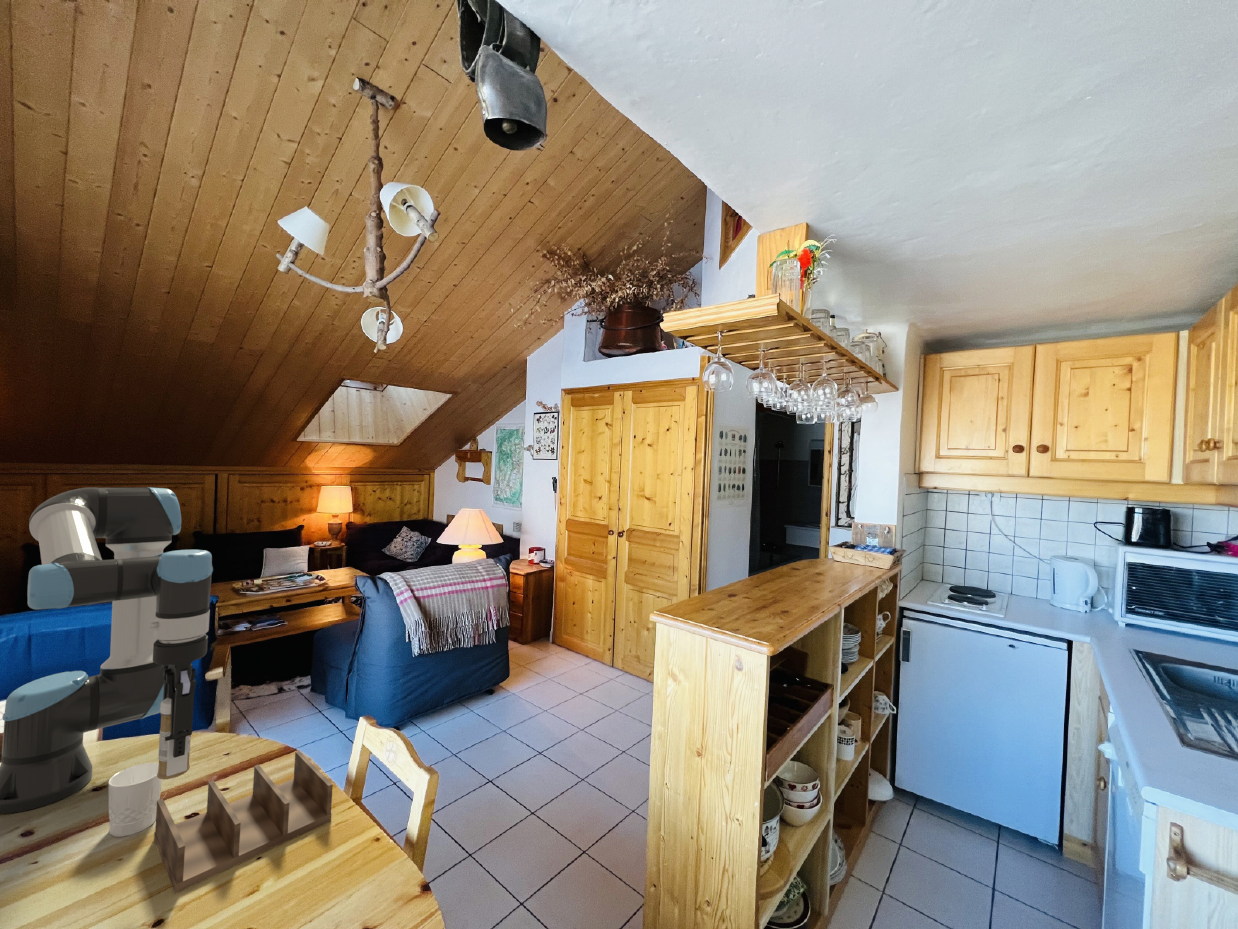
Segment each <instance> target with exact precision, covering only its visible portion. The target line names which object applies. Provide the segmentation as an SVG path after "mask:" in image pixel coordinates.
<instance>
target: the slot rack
mask: <svg viewBox="0 0 1238 929" xmlns="http://www.w3.org/2000/svg"><path fill="white" fill-rule="evenodd" d="M253 767H254V768H253V783H252V794H251V795H247V796H245V797H242V798H240V799H237V800H234V801H232V802H228V800H227V799H226V798H225V796H224V794H223V793H222V791H221V790H220V788H219V787H218V785H217V784H216V782H215V781H214V780H211V781H208V783H207V784H208V786H207V800H206V801H207V802H206V803H207V804H206V811H205V812H203V813H201V814H198V815H196V816H194V817H191V818H188V819H185V820H183V821H180V822H177V823H175V822H174V820H173V817H172V815H171V813H170V811H169V808H168V807H167V804H166V803H165V801H164V799H163V798H160V799H159V800H157V810H156V821H155V830H154V834H153V835H154V836H153V841H154V844H155V847H156V849H157V851H158V854H159V856H160V859H161V862H162V864H163V866H164V869H165V872H166V873H167V876H168V879H169V881H170V884H171V886H172V888H173V892H174V894H175V895H177V894H178V893H180V892H182V891H185V890H186V889H188V888H190V887H193V886H195V885H197V884H199V883H202V882H203V881H206V880H208V879H210V878H212V877H214V876H216V875H219V874H221V873H223V872H225V871H227V870H229V869H232V868H233V867H236V866H238V865H240V864H242V863H244V862H247V861H249V860H251V859H253V858H255V857H257V856H259V855H261V854H263V853H266V852H268V851H270V850H273V849H274V848H277V847H278V846H281V845H282V844H285V843H288V842H289V841H292V840H293V839H296V838H297V837H300V836H302V835H305V834H306V833H309V832H310V831H313V830H316V829H317V828H320V827H323V825H325V824H328V823H330V822H332V803H333V800H332V799H333V787H334V784H333V783H332V782H331V781H330V779H328V778H327V777H326V776H325V774H324V773H323V772H321V771H320V770H319V768H317V767H316V765H314V764H313V763H312V762H311V761H310V760H309V759H308V757H307V756H306V755H304V754H303V753H302V751H300V750H297V751H295V752H294V767H293V768H294V769H293V778H292V779H289V780H287V781H284V782H282V783H278V784H277V785H276V784H275V783H274V781H273V780H272V779H271V778H270V776H269V775H268V774H267V773H266V771H265V770H264V769H263V768H262V767H261V765H260V764H256V765H254V766H253Z"/></svg>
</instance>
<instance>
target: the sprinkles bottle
mask: <svg viewBox="0 0 1238 929" xmlns="http://www.w3.org/2000/svg"><path fill="white" fill-rule="evenodd" d="M159 714H160V729H159V739H158V740H159V742H158V758H157V759H158V763H159V768H158V773H157V777H158V778H159V779H162V780H170V779H171V780H172V779H175V778H178V777H180V776H182V775H184V774H186V773H187V772H188V771H189V770H190V769H191V768H190V751H191V739H192V735H189V742H188V760H187V770H186V771H183V772H180V773H177V774H174V775H170V776H167V775H166V770H167V753H168V741H165V737H167V736H170V732H171V699H169V698H166V699H164V700H163V701H162V702H161V706H160V713H159Z"/></svg>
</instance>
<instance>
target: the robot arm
mask: <svg viewBox="0 0 1238 929" xmlns="http://www.w3.org/2000/svg"><path fill="white" fill-rule="evenodd" d="M28 522H29V523H28V527H29V528H28V530H29V532H30V534H31V536H32V537H33V539H35V541H38V543H39V544H38V545H39V552H40V560H41V564H38V565H35V566H33V567H32V568H30V570H29V572H28V577H27V578H28V579H27V595H26V596H27V606H28V607H29V608H30V609H32V610H46V609H47V610H48V609H64V608H68V607H77V606H78V607H79V606H83V605H93V604H94V605H95V604H98V603H99V604H100V603H107V602H108V603H109V602H112V604H111V629H110V651H109V653H110V654H109V657H108V658H107V659H106V660H105V661H104V662H103V663H101V665H100V668H99V673H98V674H96V675H92V676H89V675H88V674H87V672H85V671H83V670H74V671H73V670H72V671H64V672H58V673H53V674H51V675H47V676H43V677H41V678H38V679H34V680H32V681H30V682H27V683H26V684H23V685H22V686H19V687H18V688H16V689H15V690H13V691H12V692H11V693H9V695H8V697H7V698H6V699H5V706H4V707H5V708H4V713H3V714H2V720H3V723H4V724H3V731H2V732H3V735H2V746H1V758H0V759H1V761H0V814H13V813H14V814H15V813H20V812H26V811H30V810H33V809H37V808H42V807H44V806H47V805H50V804H52V803H56V802H58V801H61V800H62V799H65V798H68V797H69V796H71V795H73V794H75V793H76V792H78V791H80V790H81V789H83V788H84V787H85V786H86V785H88V783H90V781H92V778H93V764H92V762H91V759H90V757H89V754H88V753H87V750H86V748H85V746H84V733H87V732H88V733H89V732H91V731H92V732H93V731H95V730H99V729H103V728H107V727H112V726H116V725H120V724H122V723H123V724H124V723H127V722H133V721H136V720H142V719H145V718H147V717H151V716H154V715H157V714H161V713H160V706H161V702H162V701H163V700H164V699H166V698H169V699H171V732H170V736H167V737H165V741H168V753H167V770H166V775H167V776H170V775H174V774H177V773H180V772H183V771H186V770H187V760H188V742H189V735H191V736H192V735H193V722H194V721H193V719H194V704H195V703H194V701H195V692H196V686H197V681H196V679H195V678H196V667H195V668H194V667H193V662H195V661H197V660H200V659H202V658H204V657H205V656H206V655H207V652H208V642H209V640H208V639H209V636H208V635H207V633H208V632H209V630H210V629H209V628H210V614H211V613H210V612H211V610H210V606H211V605H210V602H211V588H212V587H211V585H212V574H213V572H214V567H213V563H212V562H213V556H212V553H211V552H210V551H208V550H205V549H204V550H203V549H180V550H179V549H178V550H171V551H166V552H164V549H165V548H166V547H168V546H169V545H170V544H171V543H172V540H173V539H172V538H173V536H176V535H178V534H180V532H181V529H182V514H181V507H180V502H179V500H178V497H177V495H176V493H175V492H174V491H173V490H171V489H169V488H164V487H151V486H150V487H149V486H147V487H89V486H88V487H82V488H76V489H71V490H67V491H63V492H61V493H58V494H56V495H54V496H52V497H50V498H49V499H47V500H45V501H44V502H42V503H40V504H39V505H38V506H37V507H36V508H35V509H34V510H33V512H32V513H31V515H30V517H29V521H28ZM96 539H105V547H106V548H108V549H110V550H111V551H112V552H113V554H114V555H113V558H114V559H113V558H112V559H103V558H102V556H101V552H100V550H99V548H98V543H97V541H96Z"/></svg>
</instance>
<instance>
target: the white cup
mask: <svg viewBox="0 0 1238 929" xmlns="http://www.w3.org/2000/svg"><path fill="white" fill-rule="evenodd" d="M158 768H159V762H145V763H140V764H135V765H133V766H130V767H127V768H124V769H122V770H119V771H117V773H115V774H114V775H112V776H111V777H110V778H109V780H108V782H107V783H108V788H107V789H108V801H107V802H108V806H107V807H108V820H109V834H110V835H111V836H112V837H127V836H128V837H129V836H131V835H135V834H137V833H140V832H142V831H145V830H146V829H148V828H149V827H151V826H152V825H153V824H154V823H156V810H157V800H159V799H161V792H162V783H163V779H159V778H158V777H157V773H158Z"/></svg>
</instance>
